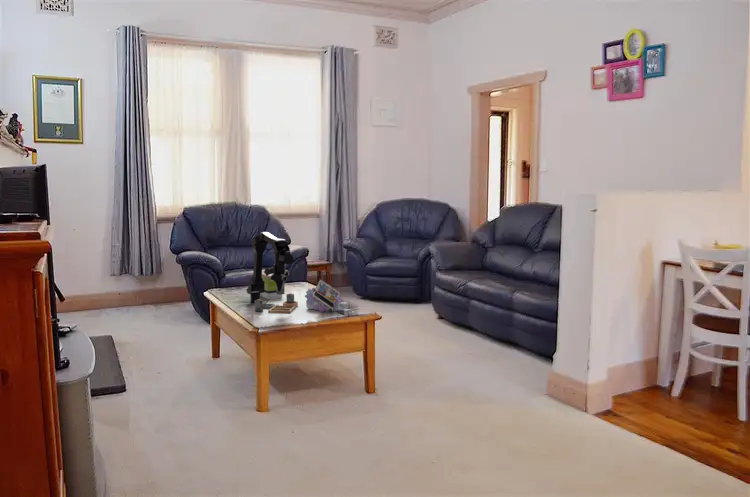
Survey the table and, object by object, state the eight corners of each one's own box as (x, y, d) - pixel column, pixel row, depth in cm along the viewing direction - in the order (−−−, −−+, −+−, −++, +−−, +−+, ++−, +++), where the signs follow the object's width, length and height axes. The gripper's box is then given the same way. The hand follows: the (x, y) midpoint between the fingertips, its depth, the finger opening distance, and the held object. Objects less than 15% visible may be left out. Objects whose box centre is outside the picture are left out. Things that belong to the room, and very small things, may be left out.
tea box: (257, 295, 403) (256, 272, 401) (271, 294, 409) (271, 271, 407) (268, 299, 391) (267, 275, 389) (282, 297, 397) (282, 274, 395)
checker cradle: (263, 306, 370) (263, 302, 370) (280, 306, 369) (280, 303, 369) (257, 310, 358) (257, 306, 358) (275, 311, 357) (275, 307, 357)
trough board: (274, 308, 363) (274, 305, 363) (295, 309, 362) (295, 305, 362) (268, 314, 349) (268, 310, 349) (290, 314, 348) (290, 311, 348)
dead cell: (287, 305, 370) (287, 292, 369) (295, 305, 369) (294, 292, 368) (285, 307, 365) (285, 294, 364) (293, 307, 365) (293, 294, 364)
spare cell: (256, 311, 355) (256, 298, 354) (264, 312, 355) (263, 298, 354) (254, 313, 351) (253, 300, 350) (261, 313, 350) (261, 300, 350)
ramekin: (285, 305, 372) (285, 300, 371) (298, 306, 371) (298, 301, 371) (282, 308, 364) (281, 303, 363) (295, 309, 363) (295, 303, 363)
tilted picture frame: (323, 295, 378) (312, 272, 369) (353, 298, 366) (342, 274, 357) (305, 318, 364) (293, 294, 355) (335, 322, 352) (323, 297, 344)
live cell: (277, 293, 354) (277, 279, 353) (285, 293, 353) (285, 279, 352) (275, 294, 349) (275, 280, 348) (283, 294, 349) (283, 280, 348)
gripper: (269, 260, 359) (270, 287, 361) (261, 264, 341) (261, 293, 343) (289, 260, 358) (289, 287, 360) (281, 264, 340) (282, 293, 342)
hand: (280, 290), depth 351 cm, fingers closed on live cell, 4 cm apart
